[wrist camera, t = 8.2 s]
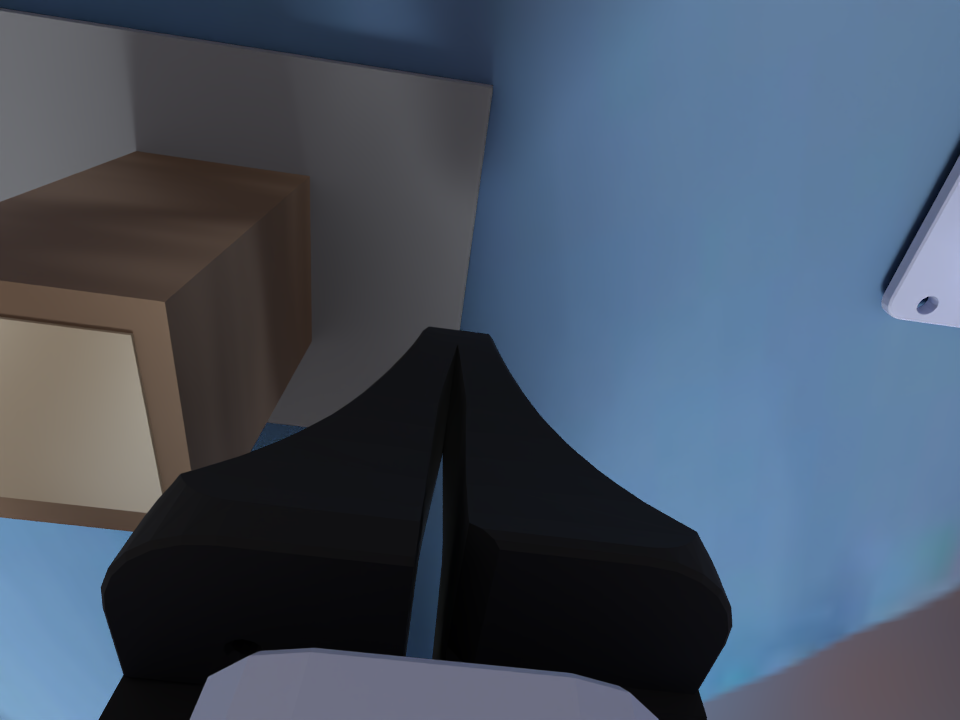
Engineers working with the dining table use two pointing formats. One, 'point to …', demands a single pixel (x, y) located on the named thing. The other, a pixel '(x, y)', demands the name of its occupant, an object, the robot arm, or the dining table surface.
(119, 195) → the walnut block
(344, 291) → the rubber mat
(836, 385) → the dining table surface
